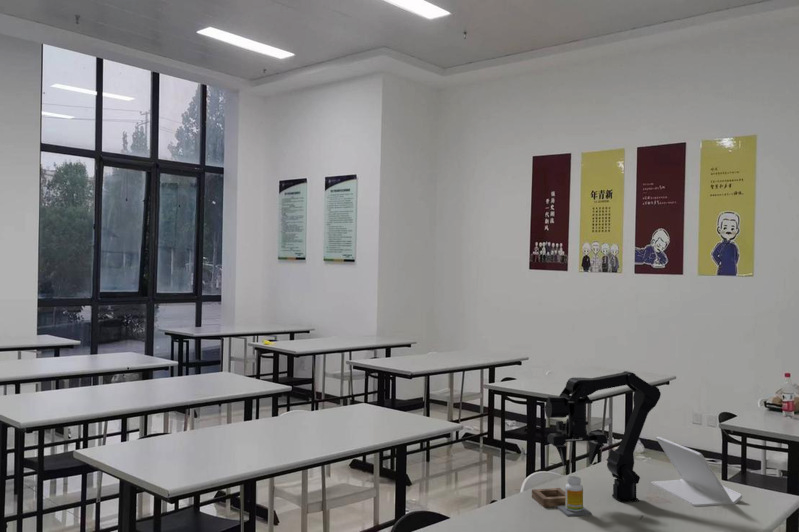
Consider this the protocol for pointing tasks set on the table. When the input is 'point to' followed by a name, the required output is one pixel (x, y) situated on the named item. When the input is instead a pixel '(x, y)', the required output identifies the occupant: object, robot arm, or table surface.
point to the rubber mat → (572, 513)
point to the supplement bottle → (574, 494)
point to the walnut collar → (549, 497)
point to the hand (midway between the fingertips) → (577, 464)
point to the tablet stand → (694, 478)
